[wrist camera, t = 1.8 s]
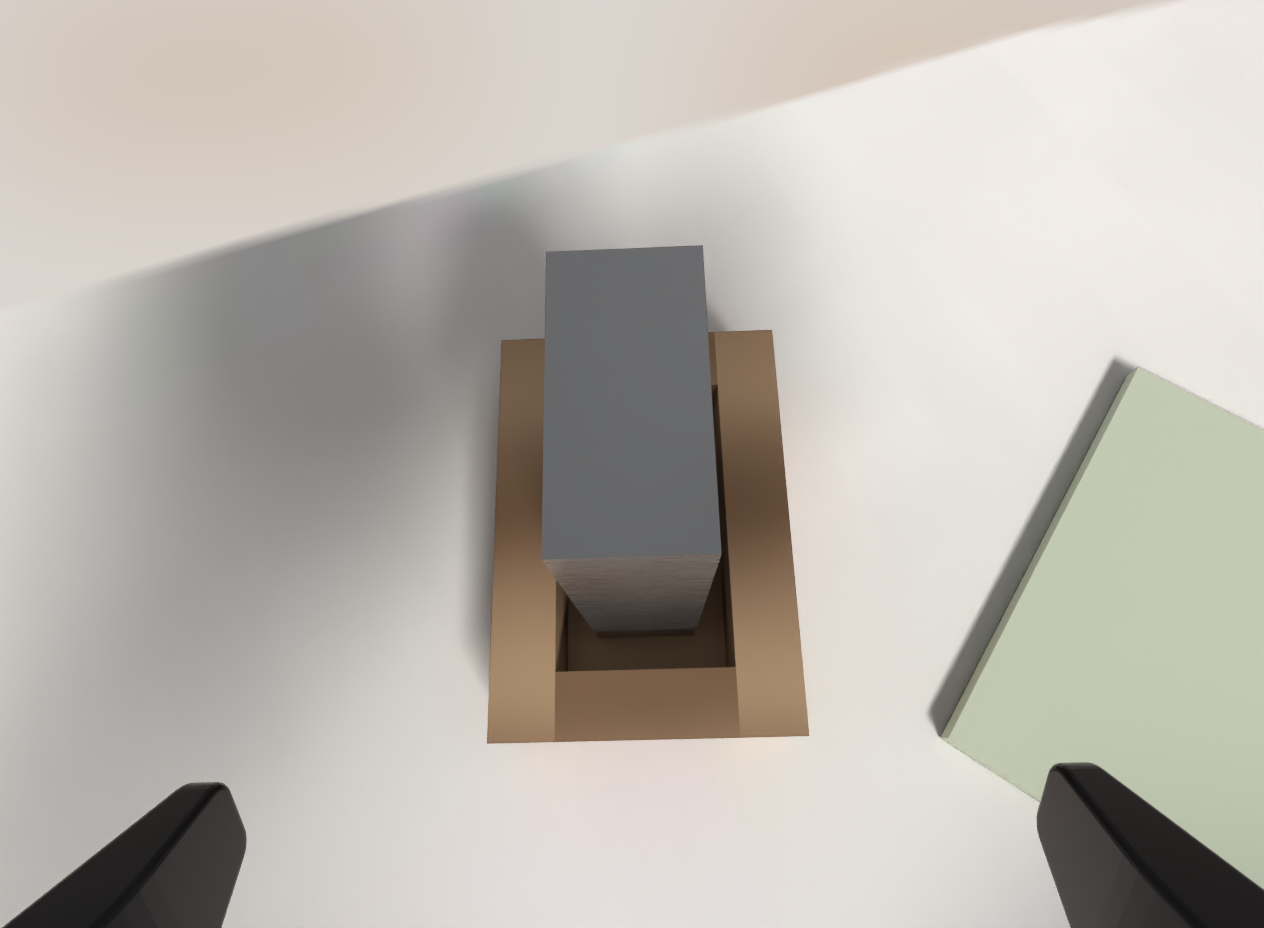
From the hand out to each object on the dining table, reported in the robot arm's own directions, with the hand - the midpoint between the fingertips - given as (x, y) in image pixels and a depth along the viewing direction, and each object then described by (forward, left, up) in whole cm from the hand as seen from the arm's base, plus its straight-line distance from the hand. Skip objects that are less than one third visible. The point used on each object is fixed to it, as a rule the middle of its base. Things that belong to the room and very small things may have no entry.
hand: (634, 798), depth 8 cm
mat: (+10, -12, -12) cm, 20 cm away
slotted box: (+4, +3, -12) cm, 13 cm away
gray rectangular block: (+4, +3, -11) cm, 13 cm away
